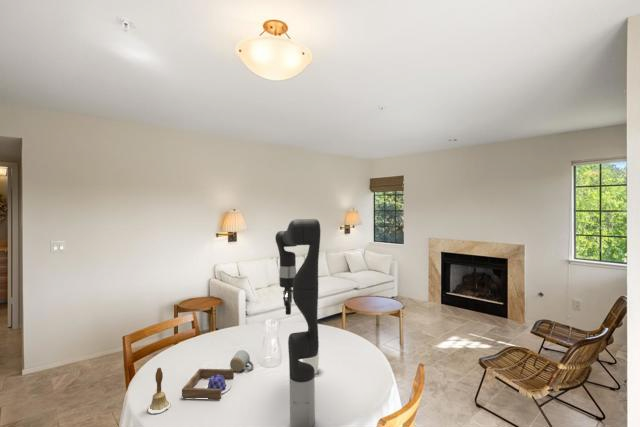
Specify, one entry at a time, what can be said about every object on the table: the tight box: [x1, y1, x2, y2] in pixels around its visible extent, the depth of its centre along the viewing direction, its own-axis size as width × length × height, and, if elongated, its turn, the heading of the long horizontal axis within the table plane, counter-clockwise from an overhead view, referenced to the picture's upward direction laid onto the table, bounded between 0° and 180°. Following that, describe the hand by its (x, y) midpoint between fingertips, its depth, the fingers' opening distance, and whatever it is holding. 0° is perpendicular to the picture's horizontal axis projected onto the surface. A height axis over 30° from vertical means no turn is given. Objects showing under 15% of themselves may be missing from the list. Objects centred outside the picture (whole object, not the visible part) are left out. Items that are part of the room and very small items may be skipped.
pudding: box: [202, 375, 232, 395], centre depth 144 cm, size 12×12×5 cm
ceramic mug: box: [229, 349, 255, 373], centre depth 161 cm, size 11×8×8 cm
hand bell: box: [149, 367, 170, 410], centre depth 130 cm, size 8×8×16 cm
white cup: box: [302, 349, 320, 375], centre depth 158 cm, size 8×8×10 cm
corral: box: [181, 368, 235, 400], centre depth 144 cm, size 17×16×4 cm
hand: (288, 314), depth 147 cm, fingers closed
